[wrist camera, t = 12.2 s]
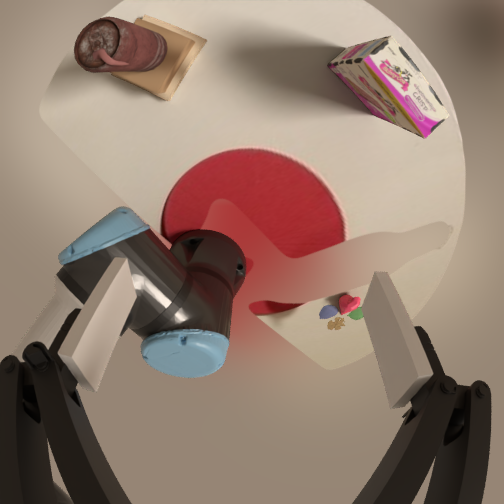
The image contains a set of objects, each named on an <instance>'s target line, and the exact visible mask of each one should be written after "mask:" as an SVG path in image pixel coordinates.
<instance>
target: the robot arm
mask: <svg viewBox="0 0 504 504" xmlns="http://www.w3.org/2000/svg"><path fill="white" fill-rule="evenodd" d="M58 259H59V261H60V264H61V265H64V266H63V267H62V268H61V269H60V271H59V272H58V273H57V274H56V276H55V295H54V296H53V297H52V299H51V300H50V301H49V303H48V304H47V305H46V306H45V308H44V309H43V310H42V312H41V313H40V314H39V316H38V317H37V318H36V320H35V321H34V323H33V324H32V325H31V327H30V328H29V330H28V331H27V332H26V334H25V335H24V337H23V338H22V340H21V341H20V343H19V344H18V346H17V347H16V349H15V350H14V352H13V353H12V355H9V356H7V357H5V358H4V359H3V360H2V361H1V363H0V504H131V502H130V501H129V499H128V497H127V496H126V494H125V492H124V491H123V489H122V487H121V486H120V484H119V482H118V480H117V478H116V477H115V475H114V473H113V471H112V469H111V467H110V465H109V463H108V462H107V460H106V458H105V456H104V454H103V452H102V450H101V447H100V445H99V443H98V441H97V439H96V436H95V434H94V432H93V429H92V427H91V425H90V423H89V420H88V417H87V415H86V413H85V410H84V407H83V405H82V402H81V399H80V396H79V393H78V391H77V389H76V386H77V383H79V384H80V385H81V387H82V388H83V389H86V390H89V391H92V392H97V390H98V387H99V384H100V382H101V379H102V376H103V374H104V371H105V369H106V366H107V364H108V361H109V359H110V356H111V354H112V352H113V349H114V347H115V344H116V342H117V339H118V338H120V337H121V336H122V335H123V334H124V332H125V331H126V330H127V329H128V327H129V328H130V329H131V330H133V331H134V332H135V333H136V334H137V335H138V336H140V337H141V338H142V339H143V342H142V344H141V353H142V356H143V359H144V360H145V361H146V363H148V364H149V365H150V366H151V367H153V368H154V369H156V370H158V371H160V372H163V373H166V374H169V375H173V376H178V377H187V378H192V377H193V378H194V377H202V376H206V375H209V374H212V373H214V372H216V371H217V370H218V369H219V368H221V366H222V365H223V363H224V362H225V358H226V352H227V349H228V346H229V336H230V325H231V315H232V303H233V298H234V297H235V295H236V293H237V292H238V291H239V289H240V288H241V286H242V284H243V282H244V279H245V275H246V259H245V256H244V254H243V252H242V250H241V248H240V247H239V246H238V245H237V243H236V242H234V241H233V240H232V239H231V238H229V237H228V236H226V235H224V234H222V233H219V232H216V231H212V230H194V231H190V232H187V233H185V234H183V235H181V236H180V237H179V238H178V239H176V241H175V242H174V243H173V244H172V246H171V248H170V250H169V249H168V248H167V247H166V246H165V245H164V244H163V243H162V242H161V240H159V238H158V237H157V236H156V235H155V234H154V233H153V232H152V230H151V229H150V226H149V225H148V224H145V223H144V222H143V221H142V220H141V218H139V216H138V215H137V214H136V213H135V212H134V211H133V210H132V209H130V208H128V207H118V208H116V209H114V210H113V211H112V212H110V213H109V214H108V215H106V216H105V217H104V218H102V219H101V220H100V221H99V222H97V223H96V224H95V225H94V226H92V227H91V228H90V229H89V230H87V231H86V232H85V233H84V234H83V235H81V236H80V237H79V238H78V239H76V240H75V241H74V242H73V243H72V244H70V245H69V246H68V247H67V248H66V249H64V250H63V251H62V252H61V253H60V254H59V255H58ZM361 310H362V313H363V316H364V319H365V322H366V325H367V328H368V331H369V335H370V338H371V341H372V344H373V347H374V351H375V354H376V357H377V361H378V364H379V368H380V371H381V375H382V378H383V382H384V386H385V390H386V393H387V397H388V401H389V405H390V409H394V408H400V407H404V406H405V405H406V404H407V403H408V402H409V401H411V404H412V407H411V408H410V409H409V410H408V411H407V412H406V413H405V414H404V415H403V416H402V417H403V418H404V417H405V416H406V418H405V420H404V421H403V423H402V425H401V427H400V429H399V431H398V433H397V435H396V437H395V439H394V440H393V442H392V444H391V446H390V448H389V449H388V451H387V453H386V454H385V456H384V457H383V459H382V461H381V462H380V464H379V466H378V467H377V469H376V470H375V472H374V473H373V475H372V477H371V478H370V479H369V481H368V482H367V484H366V485H365V487H364V488H363V489H362V491H361V492H360V494H359V495H358V496H357V498H356V499H355V500H354V502H353V503H352V504H411V503H412V502H413V500H414V498H415V496H416V495H417V493H418V491H419V489H420V487H421V485H422V483H423V482H424V480H425V477H426V476H427V474H428V471H429V469H430V467H431V465H432V463H433V461H434V458H435V456H436V458H435V462H434V467H433V471H432V476H431V480H430V483H429V487H428V491H427V494H426V498H425V501H424V504H481V503H482V498H483V493H484V488H485V482H486V476H487V469H488V460H489V451H490V437H491V392H490V388H489V386H488V385H487V384H486V383H485V382H483V381H480V380H478V381H475V382H474V383H473V384H472V385H471V386H463V385H457V383H456V381H455V380H454V379H453V378H451V377H449V376H446V375H445V373H444V371H443V368H442V366H441V363H440V361H439V359H438V357H437V354H436V352H435V351H434V347H433V345H432V344H431V340H430V338H429V336H428V334H427V333H426V332H425V330H424V329H423V328H422V327H421V326H416V327H414V326H413V324H412V321H411V319H410V317H409V315H408V313H407V311H406V309H405V306H404V304H403V302H402V300H401V298H400V296H399V294H398V292H397V290H396V288H395V286H394V284H393V282H392V280H391V278H390V276H389V275H388V273H387V272H375V273H374V275H373V278H372V281H371V284H370V287H369V289H368V292H367V295H366V297H365V300H364V303H363V305H362V308H361ZM47 438H48V442H49V445H50V448H51V450H52V453H53V456H54V459H55V462H56V464H57V467H58V469H59V472H60V474H61V477H62V479H63V482H64V484H65V486H66V488H67V491H68V493H69V495H70V497H71V498H70V497H69V496H68V495H67V494H66V493H65V492H64V491H63V490H62V489H61V488H60V487H59V486H58V485H57V484H56V483H55V482H54V481H53V479H52V473H51V466H50V460H49V452H48V444H47V443H48V442H47Z"/></svg>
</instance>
